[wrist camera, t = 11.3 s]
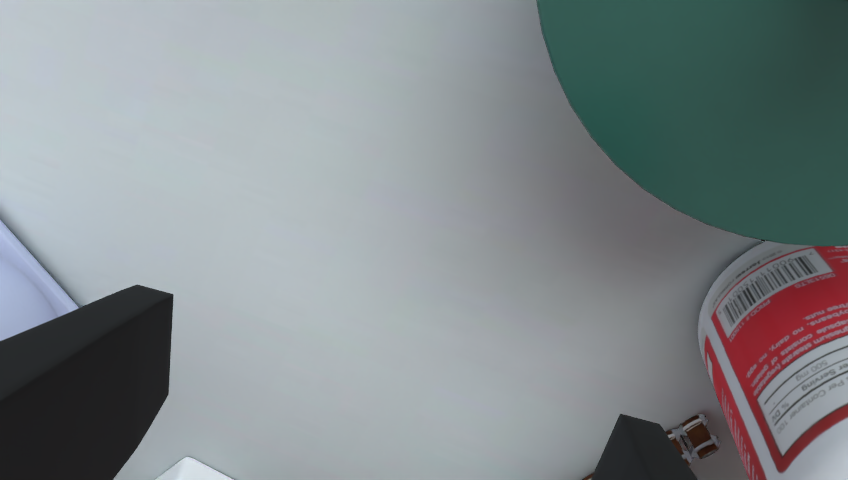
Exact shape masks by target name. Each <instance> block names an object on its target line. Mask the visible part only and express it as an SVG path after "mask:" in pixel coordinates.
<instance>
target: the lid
mask: <svg viewBox="0 0 848 480" xmlns="http://www.w3.org/2000/svg"><path fill="white" fill-rule="evenodd" d="M536 1H537V7H538V13H539V18H540V24H541V30H542V34H543V37H544V40H545V43H546V47H547V50H548V53H549V56H550V59H551V63H552V66H553V69H554V72H555V74H556V76H557V78H558V80H559V82H560V84H561V86H562V89H563V91H564V93H565V95H566V97H567V99H568V101H569V103H570V106H571V107H572V109H573V110H574V112H575V113H576V115H577V116H578V118H579V119H580V121H581V123H582V124H583V126H584V127H585V129H586V130H587V132H588V133H589V135H590V136H591V138H592V139H593V140H594V141H595V142H596V143H597V145H598V146H599V147H600V148H601V149H602V150H603V151H604V153H605V154H606V155H607V156H608V157H609V158H610V159H611V161H612V162H613V163H614V164H615V165H616V166H617V167H618V168H619V169H621V170H622V171H623V172H624V173H625V174H626V175H628V176H629V177H630V178H631V179H632V180H633V181H635V182H636V183H637V184H638V185H639V186H640V187H641V188H643V189H644V190H646V191H647V192H649V193H650V194H652V195H653V196H655V197H656V198H658V199H659V200H661V201H663V202H664V203H666V204H667V205H669V206H670V207H672V208H673V209H675V210H677V211H680V212H682V213H684V214H686V215H688V216H690V217H692V218H694V219H697V220H699V221H701V222H703V223H705V224H707V225H710V226H713V227H716V228H720V229H723V230H726V231H729V232H732V233H735V234H738V235H741V236H745V237H750V238H755V239H761V240H766V241H771V242H776V243H782V244H794V245H808V246H821V247H827V246H848V0H536Z"/></svg>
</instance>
